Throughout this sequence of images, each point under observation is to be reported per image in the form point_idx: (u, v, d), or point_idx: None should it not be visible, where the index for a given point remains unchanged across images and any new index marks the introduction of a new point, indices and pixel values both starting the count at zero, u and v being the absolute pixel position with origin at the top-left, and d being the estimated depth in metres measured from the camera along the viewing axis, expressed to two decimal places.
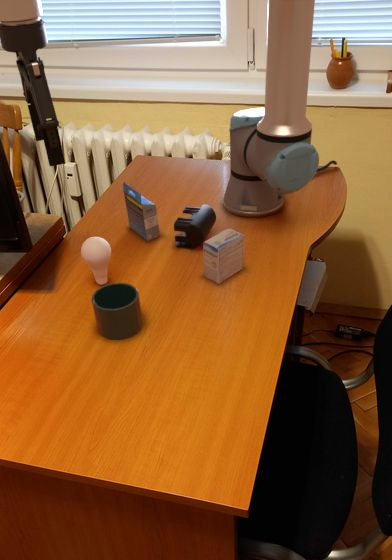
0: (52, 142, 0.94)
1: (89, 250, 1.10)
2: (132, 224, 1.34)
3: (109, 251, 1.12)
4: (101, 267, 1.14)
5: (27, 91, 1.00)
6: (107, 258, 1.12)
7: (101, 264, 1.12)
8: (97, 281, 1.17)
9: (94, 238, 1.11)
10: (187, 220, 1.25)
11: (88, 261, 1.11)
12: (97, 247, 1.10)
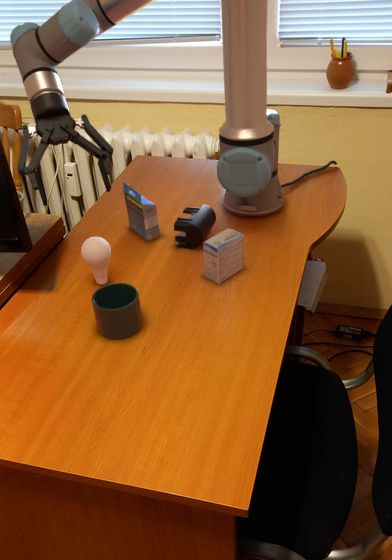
0: None
1: (89, 250, 1.10)
2: (132, 224, 1.34)
3: (109, 251, 1.12)
4: (101, 267, 1.14)
5: (87, 151, 1.18)
6: (107, 258, 1.12)
7: (101, 264, 1.12)
8: (97, 281, 1.17)
9: (94, 238, 1.11)
10: (187, 220, 1.25)
11: (88, 261, 1.11)
12: (97, 247, 1.10)
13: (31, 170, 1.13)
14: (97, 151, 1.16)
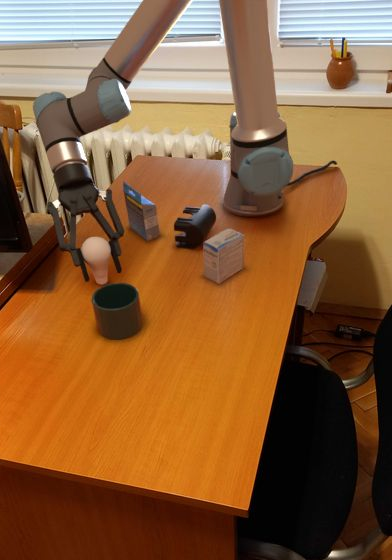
0: (73, 261, 1.12)
1: (89, 250, 1.10)
2: (132, 224, 1.34)
3: (109, 251, 1.12)
4: (101, 267, 1.14)
5: (101, 227, 1.15)
6: (107, 258, 1.12)
7: (101, 264, 1.12)
8: (97, 281, 1.17)
9: (94, 238, 1.11)
10: (187, 220, 1.25)
11: (88, 261, 1.11)
12: (97, 247, 1.10)
13: (74, 247, 1.11)
14: (109, 231, 1.13)
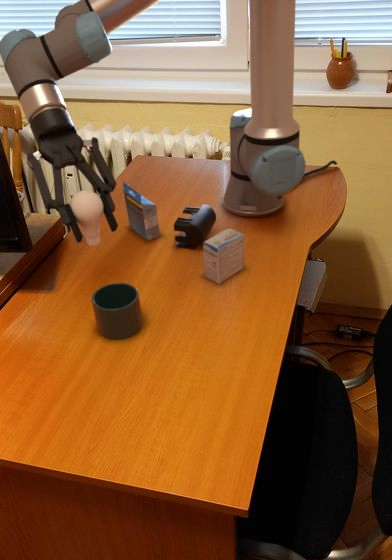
0: (62, 220, 0.99)
1: (81, 205, 0.98)
2: (132, 224, 1.34)
3: (102, 205, 1.00)
4: (93, 225, 1.01)
5: (89, 181, 1.03)
6: (100, 213, 1.00)
7: (94, 221, 1.00)
8: (89, 242, 1.04)
9: (84, 191, 0.99)
10: (187, 220, 1.25)
11: (80, 217, 0.99)
12: (89, 201, 0.98)
13: (62, 203, 0.98)
14: (99, 184, 1.01)
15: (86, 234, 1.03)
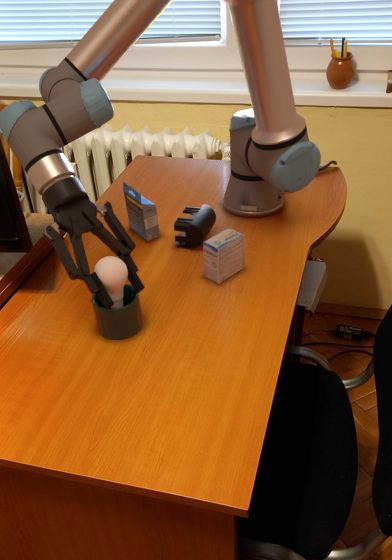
0: (90, 289, 0.97)
1: (109, 272, 0.96)
2: (132, 224, 1.34)
3: (127, 269, 0.99)
4: (120, 290, 1.00)
5: (107, 245, 1.01)
6: (126, 278, 0.99)
7: (121, 286, 0.99)
8: (113, 306, 1.03)
9: (109, 258, 0.97)
10: (187, 220, 1.25)
11: (108, 284, 0.97)
12: (116, 267, 0.97)
13: (88, 272, 0.96)
14: (120, 248, 1.00)
15: None
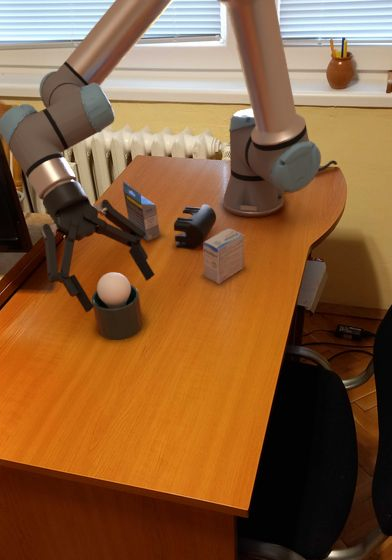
0: (69, 291, 0.96)
1: (112, 289, 0.99)
2: None
3: (129, 285, 1.01)
4: (123, 305, 1.02)
5: (115, 239, 1.03)
6: (129, 293, 1.01)
7: (124, 301, 1.01)
8: None
9: (112, 274, 1.00)
10: (187, 220, 1.25)
11: (111, 300, 1.00)
12: (119, 283, 0.99)
13: (67, 275, 0.95)
14: (129, 238, 1.02)
15: None
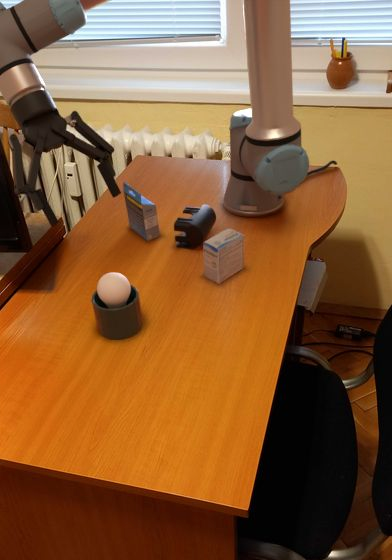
0: (35, 205, 0.98)
1: (112, 289, 0.99)
2: (132, 224, 1.34)
3: (129, 285, 1.01)
4: (123, 305, 1.02)
5: (83, 153, 1.03)
6: (129, 293, 1.01)
7: (124, 301, 1.01)
8: None
9: (112, 274, 1.00)
10: (187, 220, 1.25)
11: (111, 300, 1.00)
12: (119, 283, 0.99)
13: (33, 189, 0.97)
14: (98, 154, 1.02)
15: None
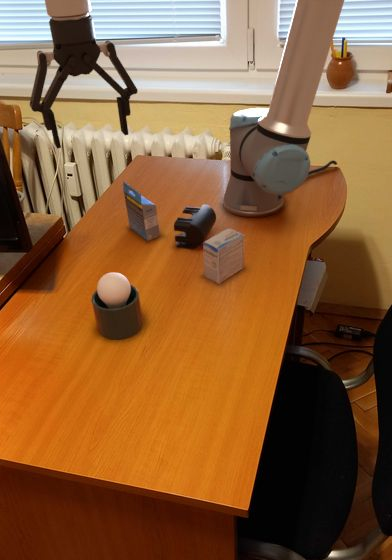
0: (44, 124, 1.04)
1: (112, 289, 0.99)
2: (132, 224, 1.34)
3: (129, 285, 1.01)
4: (123, 305, 1.02)
5: None
6: (129, 293, 1.01)
7: (124, 301, 1.01)
8: None
9: (112, 274, 1.00)
10: (187, 220, 1.25)
11: (111, 300, 1.00)
12: (119, 283, 0.99)
13: (46, 112, 1.02)
14: (120, 92, 1.05)
15: None
